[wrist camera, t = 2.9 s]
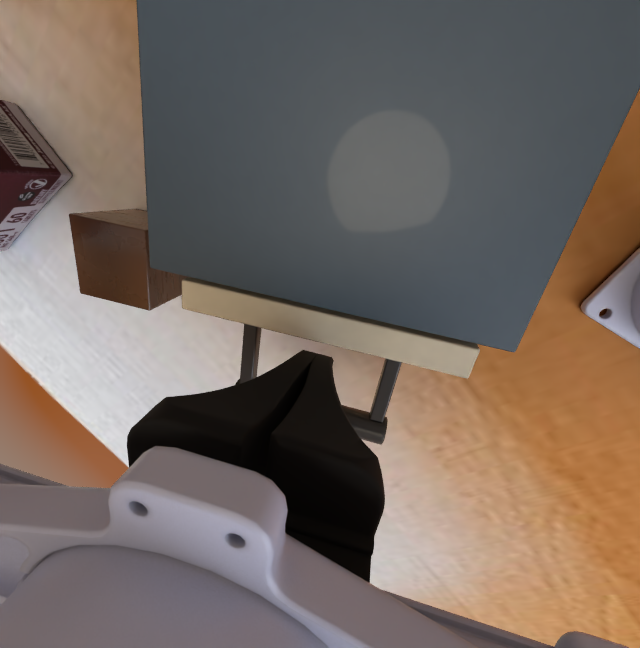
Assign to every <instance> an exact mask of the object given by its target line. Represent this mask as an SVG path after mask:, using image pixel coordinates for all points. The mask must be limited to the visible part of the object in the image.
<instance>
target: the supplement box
mask: <svg viewBox="0 0 640 648" xmlns="http://www.w3.org/2000/svg"><path fill="white" fill-rule="evenodd" d="M71 177H72V174H71V173H70V172H69V171H68V169H67V168H66V167H65V165H64V164H63V163H62V162H61V160H60V159H59V158H58V156H57V155H56V154H55V153H54V151H53V150H52V149H51V147H50V146H49V145H48V144H47V142H46V141H45V140H44V139H43V137H42V136H41V135H40V134H39V132H38V131H37V130H36V128H35V127H34V126H33V124H32V123H31V122H30V121H29V120H28V118H27V117H26V116H25V115H24V113H23V112H22V111H21V110H20V108H19V107H18V106H17V105H16V104H14V103H11V102H6V101H3V100H0V251H4V250H7V249H8V248H9V247H10V246H11V244H12V243H13V241H14V240H15V239H16V238H17V237H18V236H19V234H20V233H21V232H22V231H23V230H24V228H25V227H26V226H27V225H28V224H29V222H30V221H31V220H32V219H33V218H34V216H35V215H36V214H37V213H38V212H39V211H40V210H41V208H42V207H43V206H44V205H45V204H46V203H47V202H48V201H49V200H50V199H51V198H52V196H53V195H54V194H55V193H56V192H57V191H58V190H59V189H60V188H61V187H62V186H63V185H64V184H65V183H66V182H67V181H68V180H69V179H70V178H71Z"/></svg>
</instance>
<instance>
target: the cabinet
mask: <svg viewBox="0 0 640 648" xmlns="http://www.w3.org/2000/svg"><path fill="white" fill-rule="evenodd" d="M137 17H138V37H139V57H140V77H141V97H142V117H143V137H144V156H145V176H146V196H147V216H148V236H149V256H150V268H153V269H157V270H162V271H166V272H170V273H175V274H179V275H183V276H188V277H192V278H196V279H200V280H205V281H209V282H213V283H218V284H222V285H226V286H231V287H235V288H239V289H244V290H248V291H252V292H256V293H261V294H265V295H269V296H274V297H278V298H282V299H287V300H291V301H295V302H299V303H304V304H308V305H312V306H317V307H321V308H325V309H330V310H334V311H338V312H342V313H347V314H351V315H355V316H360V317H364V318H368V319H373V320H377V321H381V322H385V323H390V324H394V325H398V326H403V327H407V328H411V329H416V330H420V331H424V332H428V333H433V334H437V335H441V336H446V337H450V338H454V339H459V340H463V341H467V342H471V343H476V344H480V345H484V346H489V347H493V348H497V349H502V350H506V351H510V352H515V351H516V349H517V347H518V345H519V343H520V341H521V338H522V336H523V334H524V332H525V330H526V328H527V326H528V324H529V321H530V319H531V317H532V315H533V313H534V311H535V309H536V307H537V305H538V302H539V300H540V298H541V296H542V294H543V292H544V290H545V288H546V285H547V283H548V281H549V279H550V277H551V275H552V273H553V271H554V269H555V266H556V264H557V262H558V260H559V258H560V256H561V254H562V252H563V249H564V247H565V245H566V243H567V241H568V239H569V237H570V235H571V233H572V230H573V228H574V226H575V224H576V222H577V220H578V218H579V216H580V213H581V211H582V209H583V207H584V205H585V203H586V201H587V199H588V197H589V194H590V192H591V190H592V188H593V186H594V184H595V182H596V180H597V177H598V175H599V173H600V171H601V169H602V167H603V165H604V163H605V161H606V158H607V156H608V154H609V152H610V150H611V148H612V146H613V144H614V141H615V139H616V137H617V135H618V133H619V131H620V129H621V127H622V125H623V122H624V120H625V118H626V116H627V114H628V112H629V110H630V108H631V105H632V103H633V101H634V99H635V97H636V95H637V93H638V91H639V88H640V0H137Z"/></svg>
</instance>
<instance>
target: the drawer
mask: <svg viewBox="0 0 640 648" xmlns="http://www.w3.org/2000/svg"><path fill="white" fill-rule="evenodd" d="M182 308H183V309H187V310H191V311H195V312H199V313H203V314H207V315H211V316H215V317H219V318H223V319H227V320H231V321H236V322H240V323H244V336H243V349H242V362H241V375H240V379H239V380H238V381H237V383H236V385H238V384H241V383H244V382H246V381H249V380H252V379H254V378H256V376H257V366H258V357H259V347H260V337H261V328H264V329H268V330H272V331H276V332H280V333H284V334H288V335H293V336H297V337H301V338H305V339H309V340H313V341H317V342H321V343H325V344H329V345H333V346H337V347H341V348H345V349H349V350H354V351H358V352H362V353H366V354H370V355H374V356H378V357H382V358H385V362H384V365H383V369H382V372H381V376H380V379H379V383H378V386H377V390H376V393H375V397H374V400H373V404H372V407H371V411H370V413H369V412H366V411H362V410H358V409H354V408H351V407H347V406H343V405H341V406H342V408H343V410H344V413H345V415H346V417H347V419H348V420H349V422H350V424H351V425H352V427H353V429H354V430H355V432H356V433H357V435H358V436H359V437H360V439H363V440H367V441H370V442H374V443H377V444H382V443H383V441H384V438H385V434H386V429H387V417H385V415H386V411H387V408H388V405H389V402H390V399H391V395H392V392H393V389H394V386H395V383H396V379H397V376H398V373H399V370H400V367H401V363H406V364H410V365H415V366H419V367H423V368H427V369H431V370H435V371H439V372H443V373H447V374H451V375H455V376H459V377H463V378H468V377H469V375H470V373H471V371H472V368H473V366H474V363H475V361H476V359H477V356H478V354H479V352H480V349H479V347H478V345H477V344H476V343H471V342H467V341H463V340H459V339H454V338H450V337H446V336H441V335H437V334H433V333H428V332H424V331H420V330H416V329H411V328H407V327H403V326H398V325H394V324H390V323H385V322H381V321H377V320H373V319H368V318H364V317H360V316H355V315H351V314H347V313H342V312H338V311H334V310H330V309H325V308H321V307H317V306H312V305H308V304H304V303H299V302H295V301H291V300H287V299H282V298H278V297H274V296H269V295H265V294H261V293H256V292H252V291H248V290H244V289H239V288H235V287H231V286H226V285H222V284H218V283H213V282H209V281H205V280H200V279H196V278H192V277H188V278H185V279H183V280H182Z"/></svg>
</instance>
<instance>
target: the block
mask: <svg viewBox="0 0 640 648" xmlns="http://www.w3.org/2000/svg"><path fill="white" fill-rule="evenodd" d="M69 217H70V224H71V231H72V238H73V245H74V252H75V258H76V265H77V272H78V279H79V286H80V293H82V294H86V295H90V296H94V297H98V298H102V299H106V300H110V301H114V302H118V303H122V304H126V305H130V306H134V307H138V308H142V309H146V310H152V309H154V308H156V307H158V306H160V305H162V304H164V303H166V302H168V301H170V300H172V299H174V298H176V297H178V296H180V295H182V280H183V279H185V278H188V276H183V275H179V274H175V273H170V272H166V271H162V270H157V269H153V268H150V256H149V236H148V216H147V211H144V210H139V209H126V210H112V211H99V212H86V213H73V214H69Z"/></svg>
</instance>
